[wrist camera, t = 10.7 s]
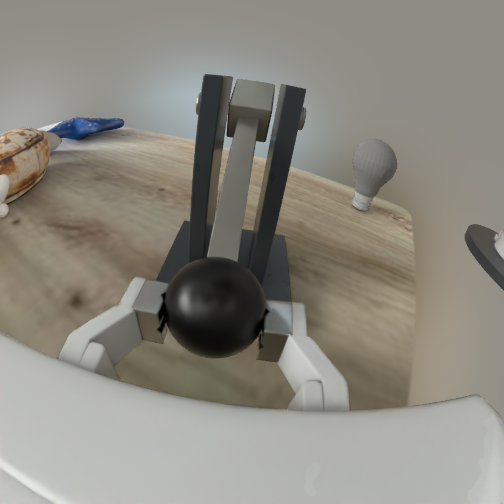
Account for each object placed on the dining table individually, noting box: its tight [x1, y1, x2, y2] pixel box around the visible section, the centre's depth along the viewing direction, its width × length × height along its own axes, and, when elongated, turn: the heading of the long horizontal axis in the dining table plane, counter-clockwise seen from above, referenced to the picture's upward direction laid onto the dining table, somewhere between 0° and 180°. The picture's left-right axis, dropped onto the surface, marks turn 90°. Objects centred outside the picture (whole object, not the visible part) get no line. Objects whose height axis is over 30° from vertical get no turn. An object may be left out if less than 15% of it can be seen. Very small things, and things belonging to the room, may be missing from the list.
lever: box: [164, 79, 275, 358], centre depth 12 cm, size 14×4×4 cm
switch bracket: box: [156, 74, 306, 302], centre depth 17 cm, size 10×9×14 cm
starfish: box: [47, 117, 124, 139], centre depth 48 cm, size 19×19×5 cm
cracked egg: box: [40, 131, 62, 151], centre depth 35 cm, size 12×13×1 cm
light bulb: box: [351, 139, 397, 211], centre depth 34 cm, size 6×6×10 cm
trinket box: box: [0, 128, 50, 204], centre depth 26 cm, size 13×15×8 cm
